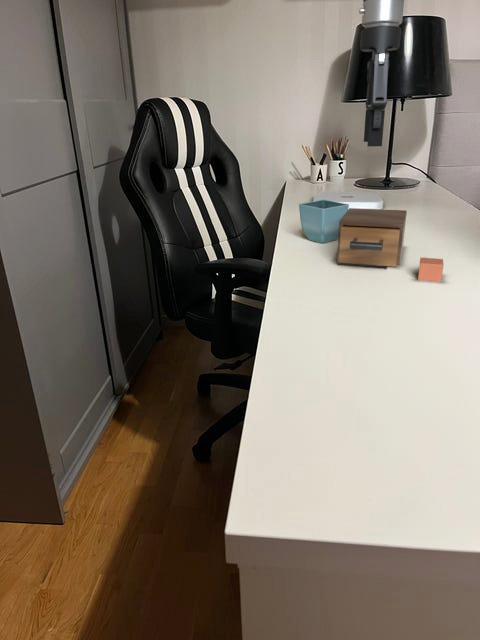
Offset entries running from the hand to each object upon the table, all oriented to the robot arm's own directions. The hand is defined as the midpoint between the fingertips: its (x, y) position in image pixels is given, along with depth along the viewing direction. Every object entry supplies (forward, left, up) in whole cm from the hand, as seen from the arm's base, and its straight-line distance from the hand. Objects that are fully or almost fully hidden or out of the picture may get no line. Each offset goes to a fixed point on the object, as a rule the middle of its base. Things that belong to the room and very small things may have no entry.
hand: (372, 144), depth 104 cm
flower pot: (+11, -8, -23) cm, 27 cm away
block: (-14, +18, -23) cm, 32 cm away
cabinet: (-2, +4, -23) cm, 24 cm away
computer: (+12, -58, -23) cm, 64 cm away
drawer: (-2, +9, -22) cm, 24 cm away
